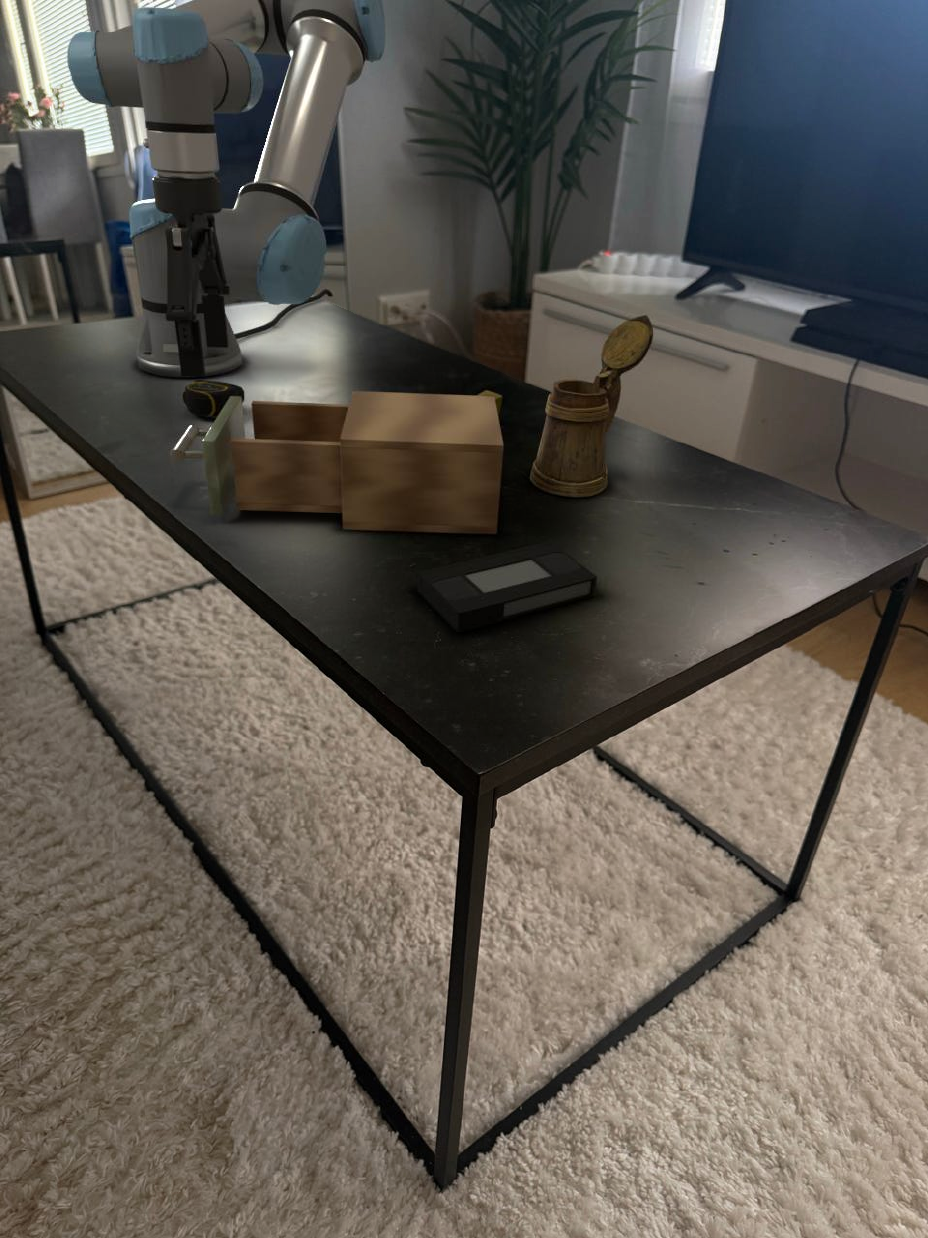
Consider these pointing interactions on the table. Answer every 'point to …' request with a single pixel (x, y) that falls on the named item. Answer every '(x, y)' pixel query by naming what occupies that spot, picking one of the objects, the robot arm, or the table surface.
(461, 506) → the cabinet
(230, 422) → the drawer
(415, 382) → the table surface
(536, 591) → the vhs tape
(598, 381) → the wooden mug
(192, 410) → the tape measure
